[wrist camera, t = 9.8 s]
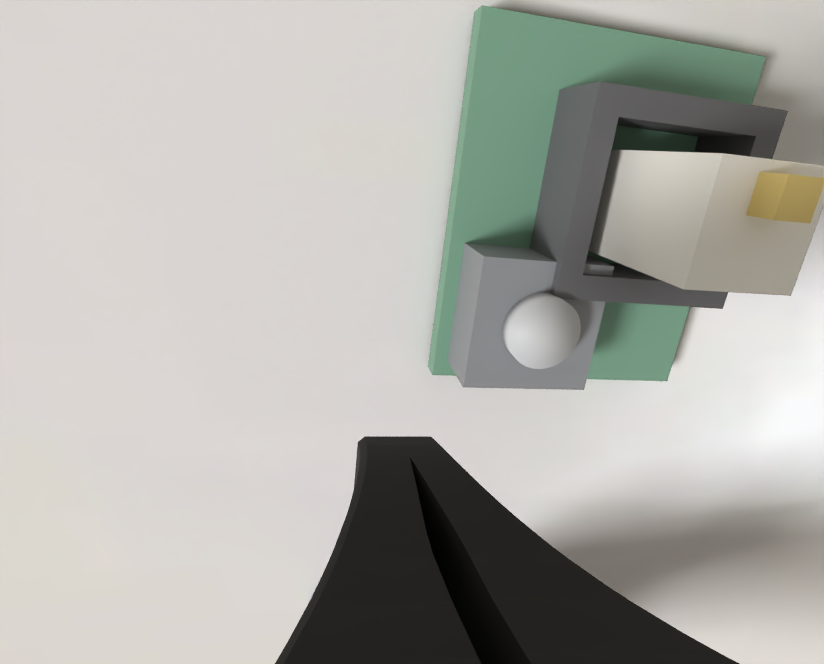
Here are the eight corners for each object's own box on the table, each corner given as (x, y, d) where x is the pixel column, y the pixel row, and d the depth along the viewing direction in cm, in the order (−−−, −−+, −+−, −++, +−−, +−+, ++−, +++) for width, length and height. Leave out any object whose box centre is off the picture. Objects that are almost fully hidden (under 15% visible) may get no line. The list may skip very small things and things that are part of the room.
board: (654, 372, 22) (716, 414, 18) (427, 366, 20) (450, 411, 16) (747, 60, 18) (846, 42, 14) (474, 11, 16) (516, -23, 12)
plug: (650, 249, 19) (818, 305, 12) (571, 243, 18) (706, 298, 12) (674, 158, 18) (871, 169, 11) (591, 149, 17) (751, 154, 11)
